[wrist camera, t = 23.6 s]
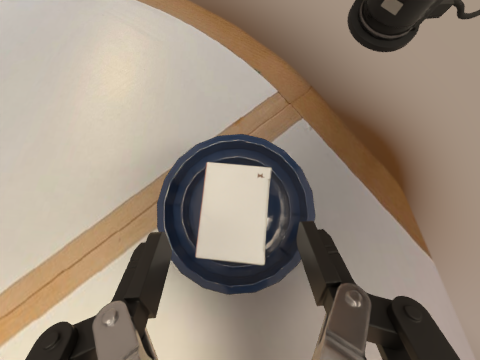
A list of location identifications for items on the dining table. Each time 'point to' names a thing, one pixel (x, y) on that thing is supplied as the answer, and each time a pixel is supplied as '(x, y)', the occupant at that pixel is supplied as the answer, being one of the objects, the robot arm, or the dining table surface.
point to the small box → (234, 213)
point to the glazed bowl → (278, 216)
